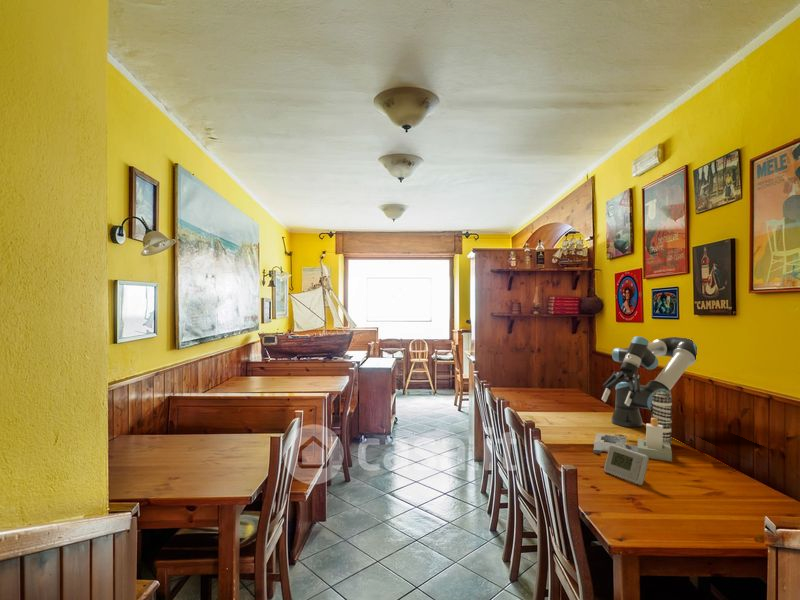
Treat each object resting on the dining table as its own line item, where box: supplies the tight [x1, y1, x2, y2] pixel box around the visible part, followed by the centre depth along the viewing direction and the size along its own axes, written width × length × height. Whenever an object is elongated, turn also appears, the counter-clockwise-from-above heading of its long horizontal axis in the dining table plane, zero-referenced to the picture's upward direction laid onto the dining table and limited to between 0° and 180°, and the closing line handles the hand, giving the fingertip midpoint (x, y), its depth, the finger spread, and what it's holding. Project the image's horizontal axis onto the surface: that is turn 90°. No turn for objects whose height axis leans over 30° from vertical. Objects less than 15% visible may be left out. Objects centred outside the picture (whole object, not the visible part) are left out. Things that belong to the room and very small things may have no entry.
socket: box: [593, 432, 627, 453], centre depth 206 cm, size 12×15×4 cm
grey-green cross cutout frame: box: [637, 438, 673, 462], centre depth 198 cm, size 12×15×4 cm
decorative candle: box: [650, 391, 674, 446], centre depth 214 cm, size 9×9×25 cm
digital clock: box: [603, 444, 650, 486], centre depth 174 cm, size 16×9×11 cm, turn 17°
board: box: [592, 443, 673, 462], centre depth 202 cm, size 30×16×2 cm, turn 63°
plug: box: [645, 417, 663, 450], centre depth 198 cm, size 6×4×15 cm
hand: (614, 402), depth 225 cm, fingers open, 13 cm apart
